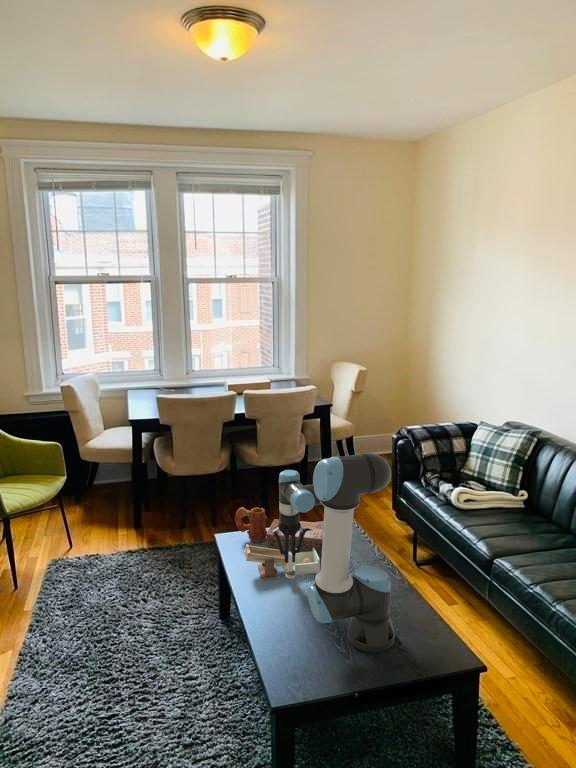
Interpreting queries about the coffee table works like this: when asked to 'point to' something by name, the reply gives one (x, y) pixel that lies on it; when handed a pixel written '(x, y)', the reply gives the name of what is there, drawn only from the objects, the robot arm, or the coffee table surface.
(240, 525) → the mug
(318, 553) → the tissue box cover
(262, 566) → the fulcrum
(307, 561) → the ball
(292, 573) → the lever
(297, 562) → the bin
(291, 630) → the coffee table surface
